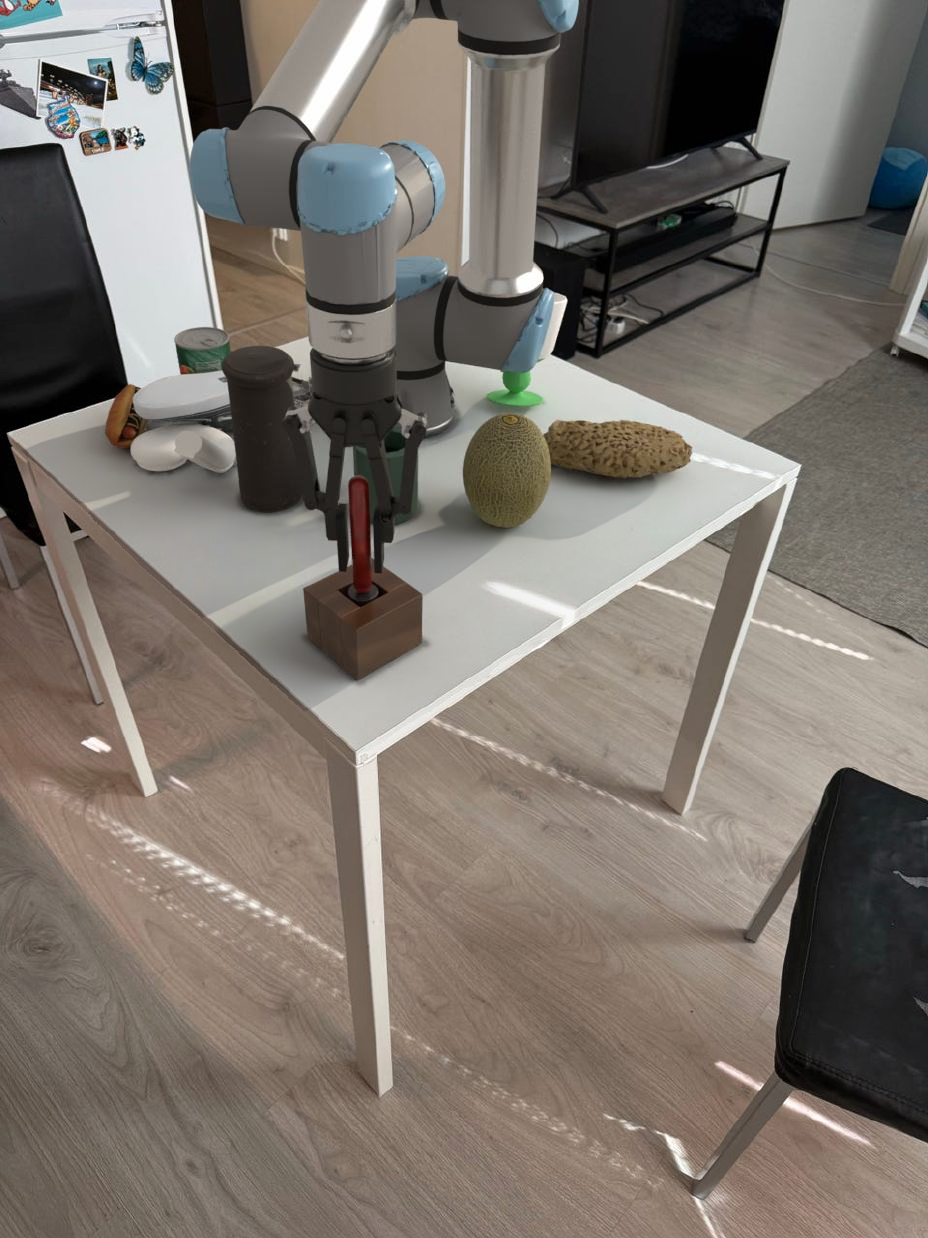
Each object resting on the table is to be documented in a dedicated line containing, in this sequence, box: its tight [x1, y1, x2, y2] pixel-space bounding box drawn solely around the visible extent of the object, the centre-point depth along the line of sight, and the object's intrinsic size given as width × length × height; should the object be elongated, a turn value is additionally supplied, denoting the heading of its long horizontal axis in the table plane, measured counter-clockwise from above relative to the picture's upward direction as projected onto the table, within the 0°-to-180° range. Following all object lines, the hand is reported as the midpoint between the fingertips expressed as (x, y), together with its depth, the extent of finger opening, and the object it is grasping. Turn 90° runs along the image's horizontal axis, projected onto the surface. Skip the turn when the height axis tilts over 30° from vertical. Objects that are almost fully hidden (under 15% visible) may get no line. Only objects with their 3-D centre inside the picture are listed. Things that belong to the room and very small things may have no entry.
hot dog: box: [104, 383, 150, 449], centre depth 131 cm, size 5×13×5 cm
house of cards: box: [292, 363, 312, 409], centre depth 137 cm, size 9×9×8 cm
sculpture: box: [130, 423, 236, 474], centre depth 125 cm, size 12×15×8 cm
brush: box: [347, 475, 378, 607], centre depth 93 cm, size 3×3×21 cm
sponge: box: [543, 419, 693, 479], centre depth 129 cm, size 13×8×20 cm
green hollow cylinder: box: [352, 426, 419, 525], centre depth 118 cm, size 8×8×10 cm
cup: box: [486, 292, 568, 408], centre depth 141 cm, size 14×14×16 cm
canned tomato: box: [173, 326, 232, 375], centre depth 137 cm, size 8×8×11 cm
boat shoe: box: [133, 370, 233, 432], centre depth 132 cm, size 24×9×8 cm, turn 136°
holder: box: [302, 557, 424, 681], centre depth 98 cm, size 9×9×7 cm
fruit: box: [462, 412, 552, 529], centre depth 115 cm, size 11×11×15 cm
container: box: [222, 345, 303, 513], centre depth 115 cm, size 9×9×20 cm
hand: (361, 564), depth 93 cm, fingers open, 3 cm apart
